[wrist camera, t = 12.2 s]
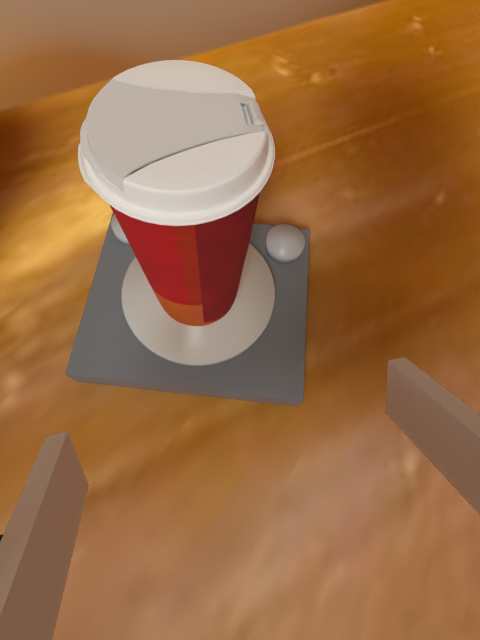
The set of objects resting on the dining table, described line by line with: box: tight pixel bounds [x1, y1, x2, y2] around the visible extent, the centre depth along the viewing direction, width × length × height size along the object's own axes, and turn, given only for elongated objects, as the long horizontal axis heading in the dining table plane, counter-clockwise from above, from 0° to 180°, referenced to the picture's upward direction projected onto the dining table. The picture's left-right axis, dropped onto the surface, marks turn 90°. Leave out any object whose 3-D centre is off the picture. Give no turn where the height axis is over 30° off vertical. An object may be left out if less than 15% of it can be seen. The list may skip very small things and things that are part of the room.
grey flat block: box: [65, 212, 309, 406], centre depth 28 cm, size 16×14×3 cm
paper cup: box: [78, 60, 275, 326], centre depth 20 cm, size 8×8×14 cm
